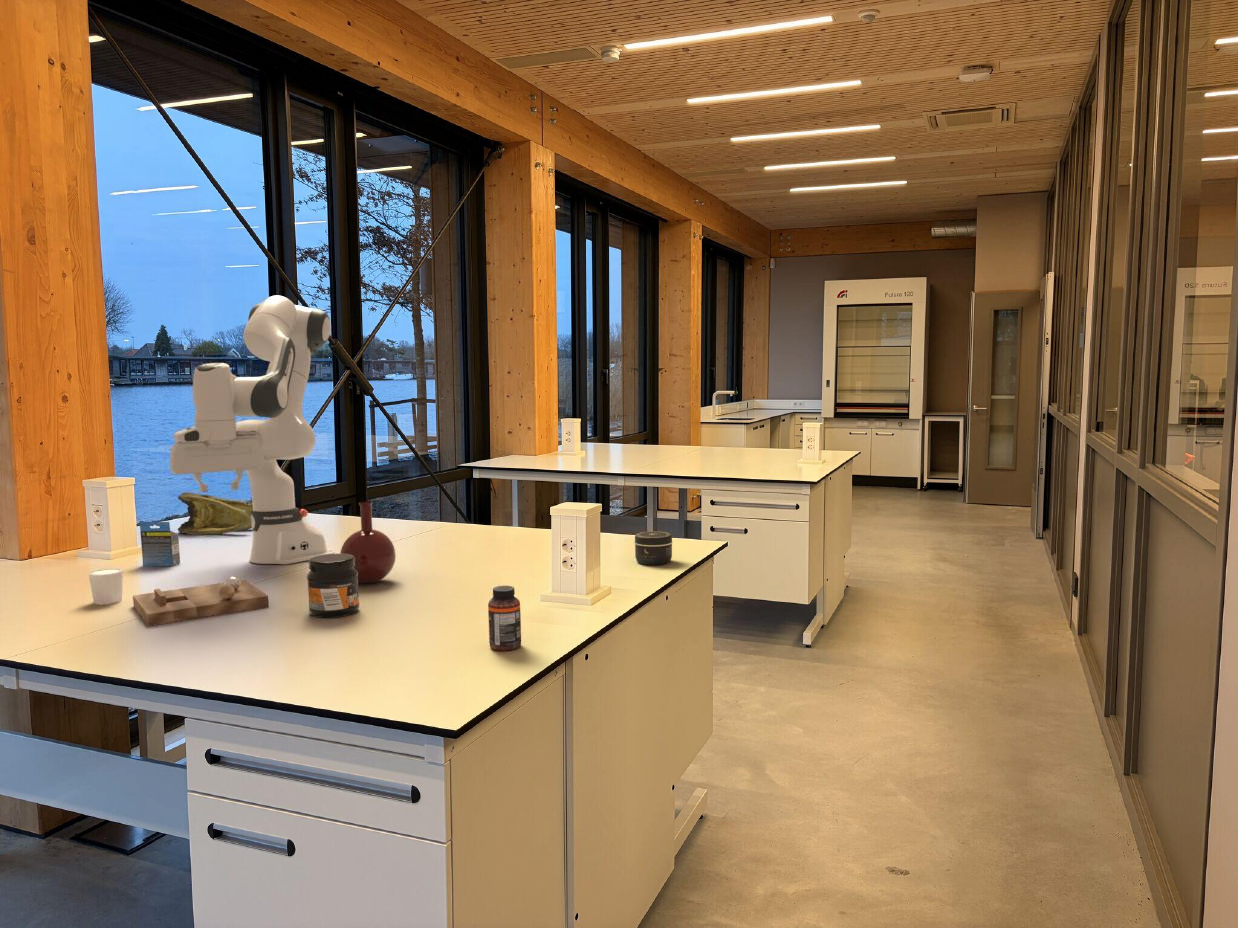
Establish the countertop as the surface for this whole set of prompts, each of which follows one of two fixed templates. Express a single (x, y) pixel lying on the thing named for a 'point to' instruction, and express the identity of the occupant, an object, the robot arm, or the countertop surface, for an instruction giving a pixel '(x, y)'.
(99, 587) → the white cup
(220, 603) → the board
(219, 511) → the crocodile head
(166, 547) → the label tape cartridge
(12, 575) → the countertop surface
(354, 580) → the supplement container
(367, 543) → the round-bottom flask
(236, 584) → the steel ball
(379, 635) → the countertop surface
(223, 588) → the cork ball
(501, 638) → the supplement bottle
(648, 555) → the jar
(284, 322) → the robot arm
